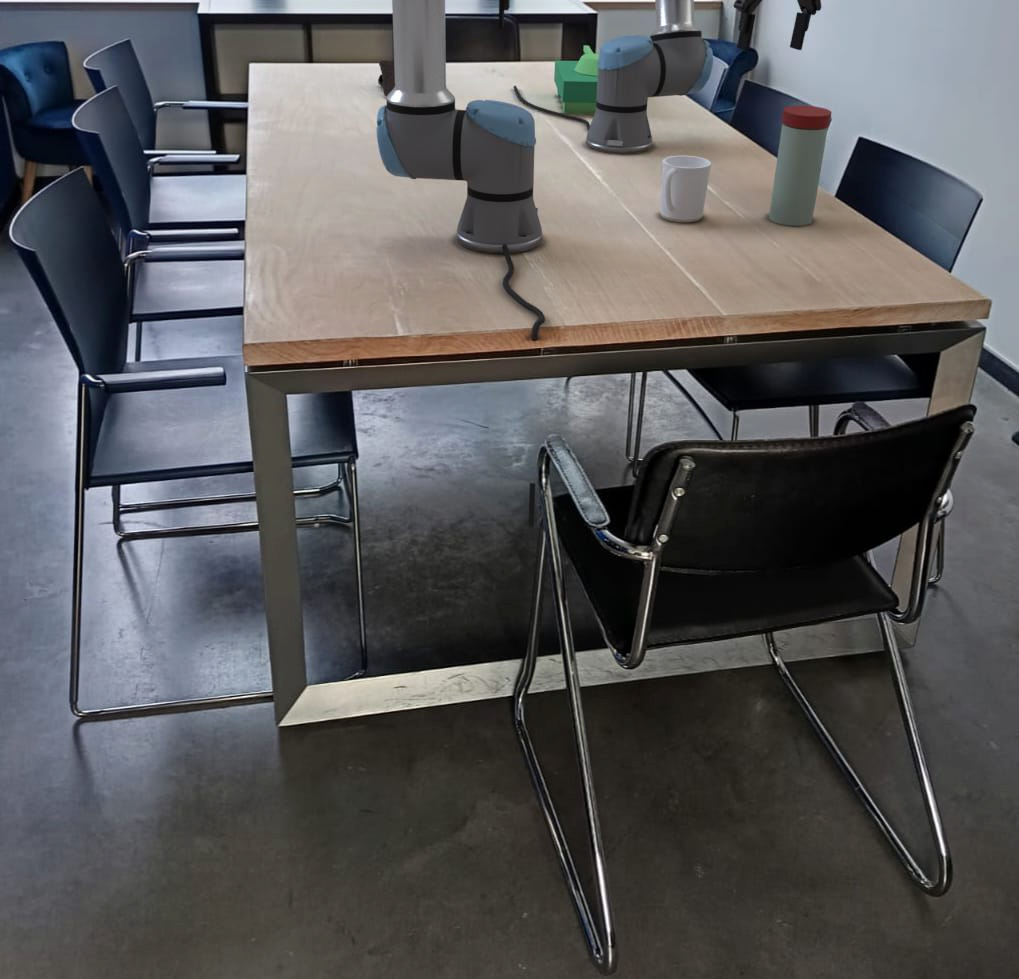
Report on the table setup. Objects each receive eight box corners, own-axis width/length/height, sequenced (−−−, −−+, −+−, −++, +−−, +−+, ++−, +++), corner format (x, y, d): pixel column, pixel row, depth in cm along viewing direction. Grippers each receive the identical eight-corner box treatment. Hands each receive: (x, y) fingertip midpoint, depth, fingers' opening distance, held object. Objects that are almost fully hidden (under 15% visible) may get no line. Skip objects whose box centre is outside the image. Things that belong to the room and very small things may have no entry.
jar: (778, 226, 206) (795, 119, 195) (762, 213, 213) (777, 108, 202) (819, 225, 207) (837, 117, 197) (801, 211, 214) (818, 107, 204)
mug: (673, 205, 215) (679, 152, 210) (713, 215, 210) (719, 161, 205) (642, 218, 208) (647, 164, 202) (683, 229, 203) (689, 173, 197)
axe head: (443, 87, 294) (392, 77, 287) (436, 115, 299) (385, 106, 292) (421, 62, 307) (371, 52, 300) (414, 89, 311) (365, 80, 304)
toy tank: (617, 42, 302) (635, 66, 272) (613, 88, 309) (631, 117, 279) (553, 40, 301) (564, 65, 271) (551, 87, 308) (562, 116, 278)
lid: (793, 129, 196) (795, 116, 195) (774, 118, 203) (775, 106, 202) (837, 128, 198) (839, 115, 196) (817, 117, 205) (819, 104, 204)
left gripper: (534, -91, 215) (530, 25, 226) (409, -94, 217) (412, 20, 229) (530, -88, 209) (526, 31, 220) (401, -92, 211) (405, 26, 222)
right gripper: (755, -71, 196) (732, 54, 207) (856, -66, 207) (829, 52, 219) (729, -77, 202) (707, 45, 213) (829, -72, 213) (804, 44, 224)
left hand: (468, 26), depth 224 cm, fingers open, 13 cm apart
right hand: (769, 49), depth 216 cm, fingers open, 13 cm apart
